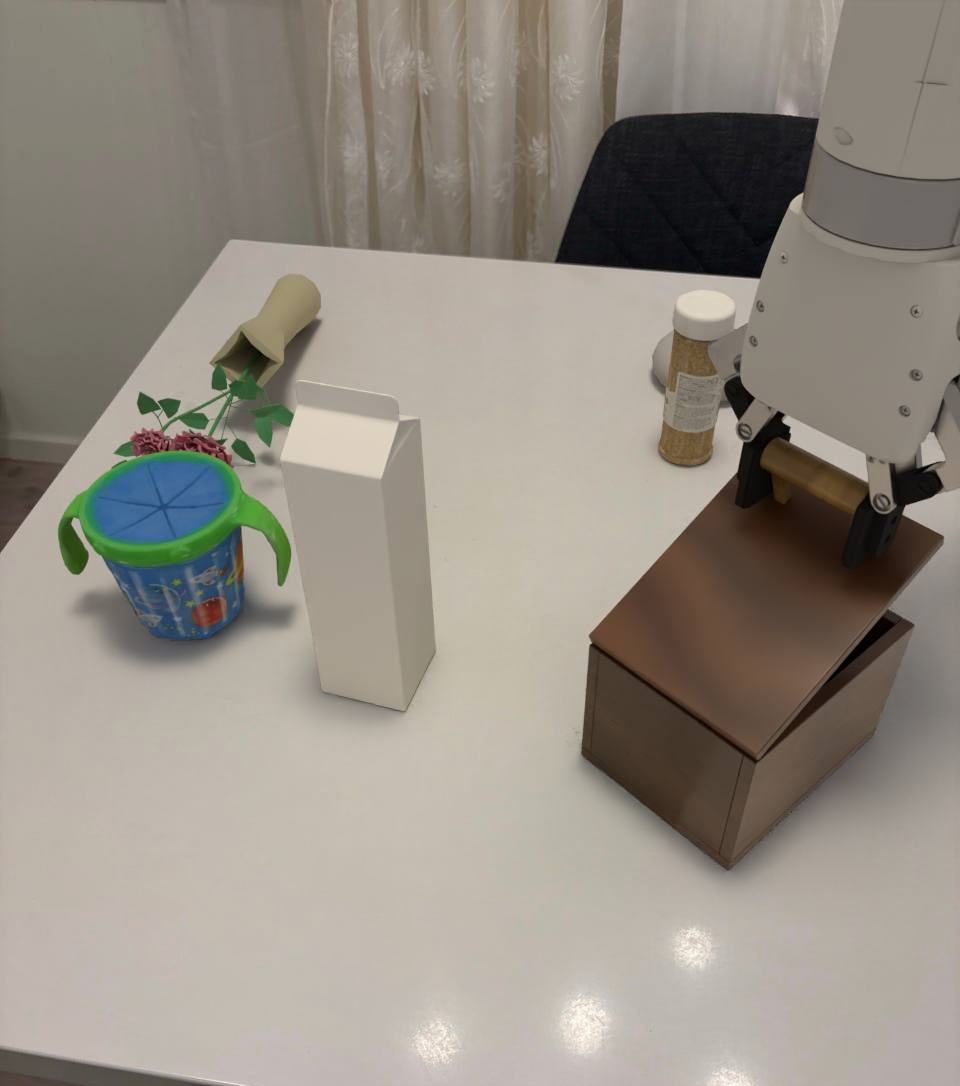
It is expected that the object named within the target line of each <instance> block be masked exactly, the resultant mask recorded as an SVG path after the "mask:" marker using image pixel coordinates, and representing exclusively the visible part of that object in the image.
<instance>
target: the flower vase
mask: <svg viewBox="0 0 960 1086" xmlns="http://www.w3.org/2000/svg"><path fill="white" fill-rule="evenodd" d="M321 309H322V295H321V293H320V291H319V289H318V287H317V286H316V283H315V282H314V281H312V280H311V279H309V278H308V277H306V276H305V275H303V274H298V273H288V274H285V275H284V276H282V277H280V278H278V279H277V280H276V282H275V284H274V286H273V288H272V290H271V291H270V293H269V295H268V297H267V298H266V300H265V302H264V304H263V305H262V307H261V309H260V311H259V312H258V314H257V315H256V316H254V317H252V318H250V319H249V320H247V321H245V322H243V323H241V324H240V325H239V326H238V327H237V328H236V330H234V332H233V333H232V334H231V336H230V337H229V338H228V339H227V340H226V341H225V343H224V344H223V346H222V347H220V349H219V350H218V351H217V352H216V354H215V355H214V357H212V359H210V361H209V362H208V364H210V365H211V366H212V367H213V368H214V370H213V372H212V375H211V389H212V390H215V391H217V392H221V394H219V395H217V396H216V397H213V398H211V399H210V400H208V401H206V402H204V403H202V404H200V405H199V406H196V407H194V408H192V409H190V410H188V411H185V412H183V413H181V414H178V415H177V416H175V415H176V414H177V413H178V411H179V409H180V405H181V403H182V400H181V399H176V398H170V397H166V398H163V399H159V400H158V401H156V400H155V399H154V398H153V397H151V396H149V395H147V394H145V393H144V392H142V391H139V392H138V396H137V401H136V405H137V408H138V411H139V413H140V415H142V416H143V415H147V414H149V413H153V415H154V416H155V417H156V419H157V420H158V422H159V426H160V428H161V429H159V430H155V428H151V429H150V430H147V429H146V428H145V427H142V428H141V429H140V432H137V431H136V430H135V431H134V432H133V435H132V436H131V437H130V438H129V441H127V442H124V443H122V444H121V445H119V447H118V448H117V449H116V450H115V451H114V452H113V453H112V455H113V454H114V455H117V456H121V457H125V458H128V457H130V458H131V457H135V458H137V457H141V456H144V455H148V454H153V453H158V452H166V451H193V452H199V453H204V454H208V455H210V456H213V457H216V458H218V459H220V460H222V461H223V462H225V463H226V464H228V465H229V466H230V467H231V468H232V469H234V468H235V466H234V464H232V461H233V454H232V453H229V454H227V452H226V450H227V446H225V445H224V444H225V443H226V442H227V441H228V439H229V438H223V437H224V434H225V433H224V432H225V429H226V425H227V427H228V428H229V430H230V431H231V432H232V434H233V435H234V437H235V440H234V441H233V443H231V445H230V447H231V449H232V450H233V452H234V453H235V454H236V455H238V456H239V457H240V458H241V459H242V460H244V461H247V462H250V463H252V464H255V465H256V464H257V462H256V456H255V453H254V452H253V451H252V450H251V448H250V447H249V445H248V443H247V442H246V441H245V440H242V439H240V438H238V437H237V435H236V434H235V432H234V430H232V429H231V427H230V425H229V423H228V422H227V420H228V418H229V413H230V410H231V408H235V409H241V410H246V411H249V412H250V413H251V414H252V415H254V416H255V417H257V418H255V419H254V420H253V424H254V429H255V431H256V434H257V436H258V438H259V439H260V440H261V441H262V442H263V443H264V444H265V445H266V446H267V447H268V448H269V449H271V447H272V446H271V445H272V441H273V436H274V433H273V424H272V421H274V422H275V423H276V424H279V425H282V426H284V427H287V428H288V427H289V428H290V426H291V423H292V420H293V417H294V414H295V413H293V412H292V411H290V410H289V409H288V408H287V407H286V406H284V405H283V404H284V403H283V402H278V403H273V404H271V403H272V402H270V399H269V397H268V394H267V393H266V391H265V389H263V387H264V386H265V385H266V384H267V383H268V381H269V380H270V379H271V378H272V377H273V376H274V375H275V373H276V372H277V371H278V370H279V369H280V368H281V367H282V365H283V364H284V363H285V348H286V347H287V345H288V344H289V343H290V342H291V340H293V338H294V337H295V336H296V335H297V334H298V333H299V332H301V331H302V330H303V329H304V328H305V327H307V326H308V325H310V324H311V322H313V321H314V320H316V318H317V316H318V314H319V312H320V310H321ZM227 380H228V381H229V382H230V383H228V381H227ZM228 388H229V389H228ZM224 391H225V392H224ZM263 393H264V394H263ZM258 394H261V398H262V406H261V407H258V408H246V407H239V406H234V404H236V403H239V402H241V401H256V400H257V395H258ZM228 395H229V396H228ZM263 395H265V397H266V399H267V401H268V403H269V404H267V405H265V402H264V400H265V399H264V396H263ZM224 397H226V400H225V402H224V403H223V405H222V407H221V409H220V410H219V413H218V415H217V417H216V418H211V419H209V418H208V417H207V416H206V414H205V413H204V412H198V411H200V410H201V409H204V408H205V407H207V406H209V405H211V404H213V403H214V402H217V401H219V400H220V399H222V398H224ZM234 397H237V398H238V400H236V401H234V402H233V400H234ZM227 409H228V410H227ZM160 410H161V411H160ZM226 410H227V414H226V416H224V415H225V412H226ZM157 411H160V412H159V414H158V415H157V413H156V412H157ZM163 412H164V414H165V416H166V418H167V419H168V420H169V419H170V420H169V421H167V423H165V424H164V425H163V424H162V421H161V420H160V418H159V417H160V416H161V415H162V413H163ZM270 415H271V416H270ZM223 416H224V417H223ZM171 418H172V419H171ZM223 419H224V421H225V422H224V425H223V429H222V433H221V438H220V439H215V437H213V435H214V433H215V431H216V429H217V427H218V425H219V423H220V421H221V420H223ZM213 420H214V422H213V424H212V426H211V428H210V430H209V432H208V434H207V435H205V434H202V433H201V432H200V431H199V432H196V433H195V431H193V430H192V429H191V428H193V429H196V430H203V431H204V430H206V428H207V426H208V425H209V422H210V421H213ZM177 421H180V422H182V423H183V424H184V425H185V426H187V427H188V431H187V430H182V431H181V433H182V434H179V432H176V433H175V437H174V438H172V437H171V435H165V432H166V430H167V429H168V428H169V427H170V425H172V424H173V423H175V422H177ZM127 461H128V460H127V459H124V460H121V461H119V462H118V463H116V464H115V465H113V466H111V469H112V468H114V467H116V466H118V465H120V464H122V463H124V462H127ZM111 469H110V470H111Z"/></svg>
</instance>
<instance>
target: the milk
mask: <svg viewBox="0 0 960 1086" xmlns="http://www.w3.org/2000/svg"><path fill="white" fill-rule="evenodd" d="M294 389H295V395H296V401H297V405H296V408H295V411H294V413H293V414H294V417H293V420H292V423H291V426H290V427H289V429H288V432H287V435H286V438H285V441H284V445H283V448H282V451H281V453H280V457H279V463H280V468H281V474H282V479H283V485H284V491H285V497H286V501H287V507H288V512H289V518H290V523H291V529H292V535H293V540H294V545H295V551H296V557H297V561H298V566H299V572H300V578H301V583H302V588H303V594H304V599H305V605H306V609H307V616H308V621H309V626H310V627H309V628H310V633H311V638H312V643H313V649H314V654H315V659H316V664H317V670H318V675H319V676H318V677H319V681H320V686H321V691H322V692H323V693H326V694H330V695H335V696H338V697H339V696H340V697H343V698H347V699H351V700H354V701H355V700H356V701H360V702H362V703H363V702H364V703H368V704H371V705H376V706H380V707H384V708H389V709H392V710H397V711H401V712H406V711H407V709H408V706H409V704H410V703H411V701H412V699H413V696H414V695H415V692H416V690H417V688H418V686H419V685H420V683H421V681H422V679H423V677H424V675H425V672H426V670H427V668H428V666H429V664H430V662H431V660H432V658H433V656H434V655H435V652H436V650H437V649H436V633H435V631H436V630H435V619H434V617H435V616H434V602H433V589H432V588H433V586H432V573H431V572H432V571H431V560H430V558H431V557H430V543H429V532H428V529H429V528H428V527H429V526H428V515H427V498H426V485H425V470H424V457H423V455H424V454H423V453H424V452H423V442H422V441H423V440H422V427H421V426H422V425H421V418H420V417H419V416H418V417H417V416H412V415H405V414H401V413H400V407H399V401H398V399H397V397H395V396H394V395H393V394H386V393H380V392H375V391H368V390H363V389H358V388H357V389H356V388H351V387H345V386H340V385H335V384H329V383H328V384H327V383H322V382H316V381H310V380H304V379H298V380H296V381H295V383H294Z"/></svg>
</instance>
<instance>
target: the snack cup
mask: <svg viewBox="0 0 960 1086" xmlns="http://www.w3.org/2000/svg"><path fill="white" fill-rule="evenodd" d="M111 468H112V467H111ZM74 519H77V520H78V521H79V524H80V527H81V530H82V533H83V535H84V537H85V539H86V541H87V542H88V544H89V546H90V547H92V549H93V551H94V552H95V553H96V554H97V555H98V556H100V557H101V558H102V561H104V563H105V565H106V567H107V569H108V570H109V572H110V573H111V574H112V576H113V578H114V580H115V581H116V584H117V585H118V587H119V589H120V591H121V592H122V594H123V596H124V597H125V599H126V601H127V602H128V604H129V605H130V607H131V608H132V610H133V613H134V614H135V616H136V617H137V618H138V620H139V621H140V623H141V624H142V625H143V626H144V627H145V628H146V629H147V631H148V632H149V633H150V635H152V636H155V637H156V638H157V639H160V638H163V639H166V640H170V641H189V640H203V639H209V638H211V637H213V635H214V634H215V633H217V632H219V631H220V630H222V629H224V628H225V627H226V626H228V625H229V624H230V623H231V622H232V621H233V620H234V619H235V618H236V617H237V616H238V615H239V613H240V612H242V611H243V610H244V609H243V608H244V603H245V592H246V585H245V581H244V580H245V579H244V578H245V574H244V573H245V563H244V561H245V560H244V544H243V543H244V542H243V529H242V527H247V528H249V529H252V530H256V531H258V532H260V533H262V534H263V536H264V537H265V539H266V541H267V542H268V544H269V545H270V547H271V549H272V550H273V552H274V554H275V560H276V577H277V586H279V587H280V588H281V587H283V586H284V584H285V582H286V580H287V576H288V573H289V569H290V566H291V561H292V546H291V543H290V540H289V538H288V536H287V533H286V531H285V530H284V529H285V528H284V527H283V526H282V524H281V522H279V520H278V518H276V516H275V515H274V514H273V512H272V511H271V510H270V509H269V508H268V507H267V506H266V505H264V504H263V503H262V502H260V500H258V499H256V498H254V497H253V496H251V495H250V494H248V493H246V492H245V490H244V489H243V486H242V483H241V480H240V478H239V476H238V474H237V472H236V471H235V469H234V468H231V467H230V466H229V465H228V464H226V462H223V461H222V460H220V459H218V458H216V457H213V456H210V455H208V454H204V453H199V452H193V451H166V452H158V453H153V454H148V455H144V456H142V455H140V456H138V457H135V458H131V459H129V460H127V462H124V463H122V464H120V465H118V466H116V467H114V468H112V469H109V470H107V471H106V472H104V473H103V474H102V475H100V476H99V477H98V478H97V479H96V480H94V482H93V483H91V485H90V486H89V487H88V488H87V489H85V490H84V491H81V492H80V493H79V494H76V496H75V497H74V499H73V500H71V502H70V503H69V505H68V506H67V507H66V509H65V511H64V512H63V514H62V516H61V518H60V520H59V524H58V526H57V527H58V528H57V540H58V544H59V550H60V555H61V557H62V561H63V563H64V566H65V567H66V568H67V570H68V571H69V572H70V573H71V574H72V575H74V576H80V575H81V574H82V573H83V572H84V571H85V569H86V567H87V564H88V562H89V559H90V558H89V557H90V553H89V551H88V549H87V548H86V547H85V544H84V542H83V541H82V539H81V538H80V536H79V535H78V533H77V532H76V530H75V528H74V526H73V524H72V523H73V520H74Z"/></svg>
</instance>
